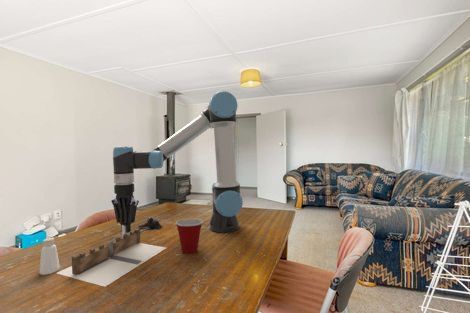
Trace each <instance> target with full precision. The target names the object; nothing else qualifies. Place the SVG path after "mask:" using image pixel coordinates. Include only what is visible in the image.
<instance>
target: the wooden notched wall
mask: <svg viewBox="0 0 470 313" xmlns="http://www.w3.org/2000/svg"><path fill="white" fill-rule="evenodd" d="M140 231H141V228H136V229H134V230H133V231H132V230H131V231H130V235H129V236H128V235H127V234H124V235H123V238H122V237H116V238H115V241H113V240H110V241H107V243H106V246H108V257H112V256H114V255H115V254H117V253H119V252H121V251H123V250H125V249H127V248H129V247H131V246H132V245H134V244H136V243H141V233H140Z"/></svg>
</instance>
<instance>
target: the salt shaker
mask: <svg viewBox="0 0 470 313" xmlns="http://www.w3.org/2000/svg"><path fill="white" fill-rule="evenodd" d="M42 242H43V247H42V248H41V251H40V261H39V262H40V264H39V275H42V276H45V275H50V274H53V273H55V272H59V270H60V268H61V266H60V261H59V260H60V259H59V254H58V248H57V245H56V244H55V243H54V242H55V238H54V237H48V238H45V239H43V240H42Z"/></svg>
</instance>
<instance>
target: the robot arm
mask: <svg viewBox="0 0 470 313" xmlns="http://www.w3.org/2000/svg"><path fill="white" fill-rule="evenodd" d="M237 110H238V100H237V98H236V97H235V95H233V94H232V93H231V92H230V91H226V90H225V91H224V90H221V91H217V92H216V93H214V94H213V95H212V96H211V98H210V100H209V104H208V105H207V107H205V108H204V110H202V111H201V112H200V114H199V115H198V117H196V118H195V119H193V120H191V122H189V123H188V124H186V125H184V127H182V128H181V129H179V130H178V131H176V132H175V133H174V134H173V135H171V136H169V138H167V139H166V140H165V141H163V142H162V143H160V144H159V145H157V146H156V147H154V148H152V150H138V151H137V150H134V148H133V146H115V147H114V148H112V149H113V152H112V161H113V162H112V164H113V183H114V186H113V187H114V188H113V190H114V191H113V192H114V194H116V196H115V198H114V199H111V201H110V202H111V204H112V205H113V210H114V214H115V220H116V223H119V224H120V232H121V239H122V238H123V235H124V234H127V235H128V236H129V235H130V232H131V231H132V228H131V226H132V225H131V224H133V223H135V220H136V214H137V208H138V205H139V203H140V201H139V200H136V199H135V196H134V193H135V183H134V182H135V174H134V170H139V169H141V170H143V169H145V170H146V169H149V170H150V169H153V170H154V169H155V170H156V169H161V168H163V167H164V162H165V161H166V160H168V159H169V158H171V157H172V156H173V155H174V154H176V153H177V152H178V151H180V150H181V149H182V148H185V147H186V146H187V145H188V144H190V143H191V142H193V141H194V140H195V139H197V138H199V136H201V135H202V134H203V133H205V132H206V131H207V130H209V129H213V133H214V150H215V151H214V152H215V170H216V182H215V183H213V184H212V185H211V192H212V193H211V194H212V198H211V199H212V215H211V218H210V221H209V230H210V231H212V232H216V233H231V232H235V231H237V230H238V229H240V221H239V218H238V215H237V214H239V213H240V211H241V210H242V208H243V205H244V203H243V196H242V195H241V184H240V183H239V182H238V180H237V170H236V157H235V156H236V155H235V154H236V153H235V151H236V150H235V137H234V134H235V133H234V127H235V125H236V124H237Z"/></svg>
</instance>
